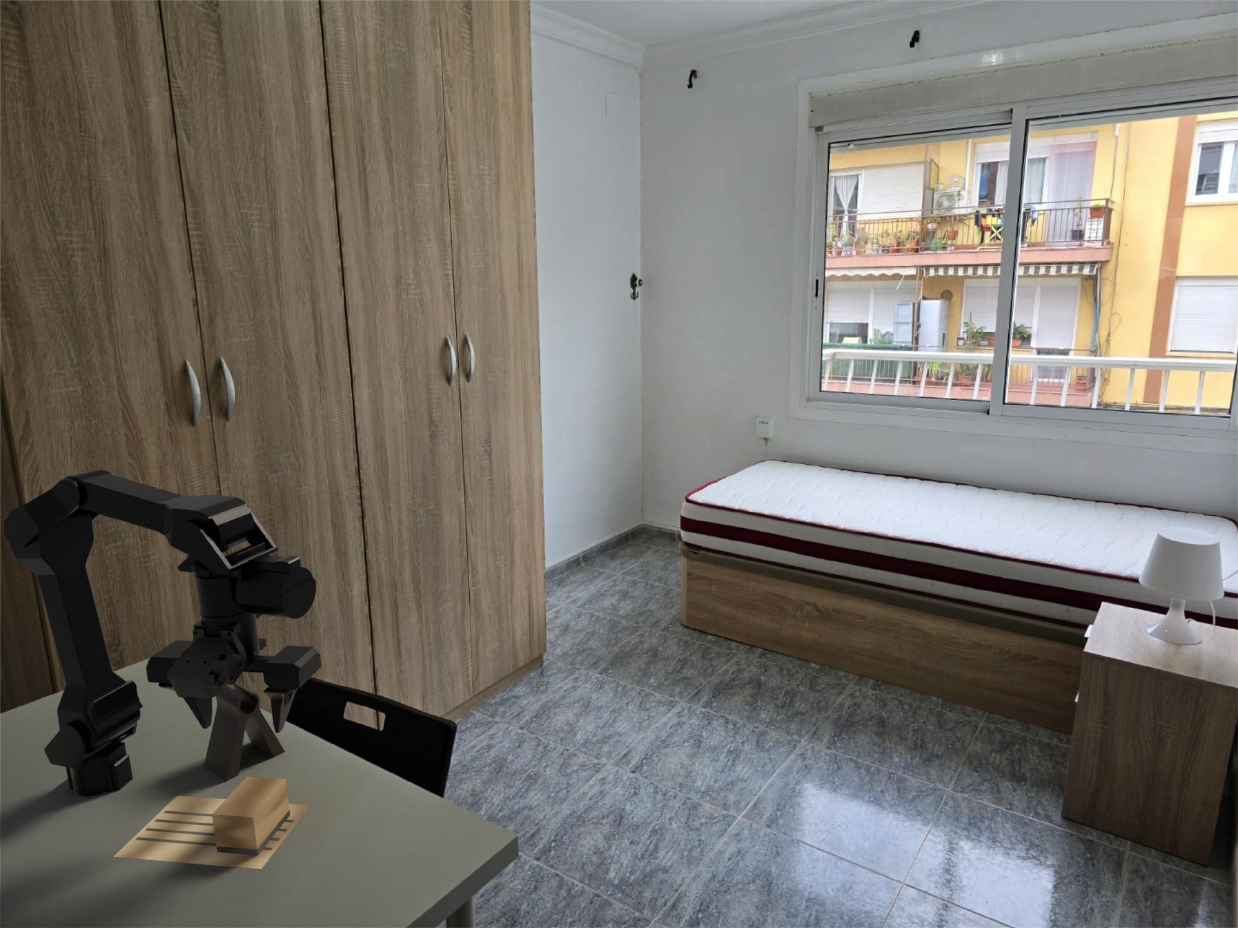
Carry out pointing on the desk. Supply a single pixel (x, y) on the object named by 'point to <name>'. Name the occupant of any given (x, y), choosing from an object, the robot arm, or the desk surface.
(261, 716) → the phone stand
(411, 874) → the desk surface
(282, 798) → the block
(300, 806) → the pine board
